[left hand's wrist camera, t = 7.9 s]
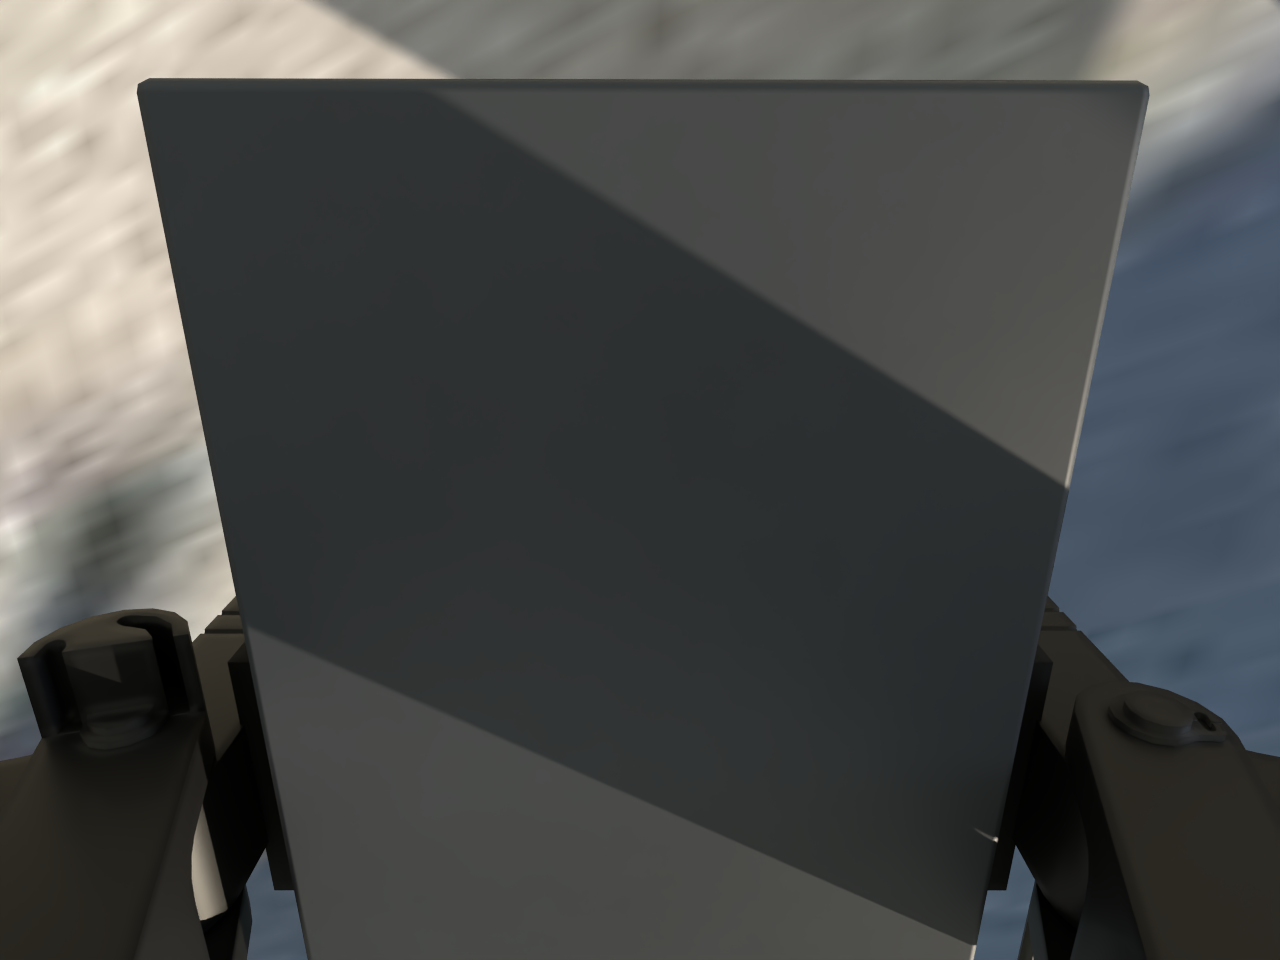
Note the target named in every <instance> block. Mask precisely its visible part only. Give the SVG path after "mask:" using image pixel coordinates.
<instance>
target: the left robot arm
mask: <svg viewBox="0 0 1280 960" xmlns="http://www.w3.org/2000/svg"><path fill="white" fill-rule="evenodd" d="M17 660H18V663H19V666H20V669H21V672H22V676H23V679H24V682H25V685H26V688H27V692H28V695H29V698H30V701H31V705H32V708H33V711H34V714H35V717H36V721H37V724H38V727H39V730H40V733H41V737H42V739H41V741H40V742H39V744H38V746H37V748H36V750H35V751H34V753H33V754H32V755H28V756H24V757H19V758H14V759H9V760H4V761H0V960H247V954H248V947H249V940H250V933H251V926H252V915H251V907H250V901H249V897H248V892H247V888H246V882H247V881H248V879H249V877H250V875H251V873H252V871H253V870H254V868H255V866H256V864H257V862H258V861H259V859H260V857H261V855H262V853H263V851H264V850H265V848H266V852H267V857H268V861H269V866H270V871H271V876H272V881H273V886H274V890H294V887H293V882H292V877H291V872H290V866H289V861H288V856H287V851H286V846H285V841H284V836H283V831H282V826H281V821H280V816H279V811H278V806H277V801H276V796H275V790H274V785H273V780H272V775H271V770H270V765H269V760H268V755H267V750H266V745H265V740H264V735H263V730H262V725H261V719H260V714H259V709H258V704H257V699H256V694H255V689H254V684H253V679H252V674H251V669H250V664H249V659H248V654H247V649H246V643H245V638H244V633H243V628H242V623H241V618H240V613H239V608H238V603H237V598H236V596H235V598H234V599H233V600H232V601H231V602H230V603H229V604H228V605H227V606H226V607H225V608H224V609H223V610H222V615H218V616H217V617H216V618H215V619H214V620H213V621H212V622H211V623H210V624H209V625H208V626H207V627H206V628H205V634H200V635H199V636H198V637H197V638H196V639H195V640H194V641H193V642H192V640H191V636H190V631H189V627H188V622H187V621H186V620H185V619H184V618H182V617H181V616H179V615H178V614H176V613H175V612H170V611H164V610H159V609H153V608H152V609H133V610H121V611H117V612H112V613H107V614H102V615H97V616H93V617H90V618H87V619H84V620H81V621H79V622H76V623H73V624H70V625H67V626H65V627H62V628H60V629H58V630H56V631H54V632H52V633H51V634H49V635H47V636H45V637H43V638H41V639H40V640H38V641H36V642H34V643H33V644H32V645H31V646H30V647H29V648H28V649H27V650H26V651H25V652H24V653H23V654H21V655H20V656H19V657H18V658H17ZM1015 845H1016V846H1017V848H1018V850H1019V851H1020V853H1021V855H1022V857H1023V859H1024V861H1025V862H1026V864H1027V866H1028V868H1029V870H1030V871H1031V873H1032V875H1033V877H1034V879H1035V883H1034V888H1033V892H1032V897H1031V901H1030V906H1029V910H1028V915H1027V919H1026V924H1025V928H1024V933H1023V937H1022V942H1021V946H1020V951H1019V955H1018V960H1280V757H1276V756H1271V755H1266V754H1261V753H1256V752H1252V751H1248V750H1245V748H1244V746H1243V744H1242V743H1241V741H1240V739H1239V737H1238V736H1237V735H1236V734H1235V733H1234V731H1233V730H1232V729H1231V728H1230V727H1229V726H1228V725H1227V724H1226V722H1225V721H1224V720H1223V719H1222V718H1220V717H1219V716H1217V715H1216V714H1214V713H1213V712H1211V711H1210V710H1208V709H1206V708H1205V707H1203V706H1202V705H1200V704H1199V703H1197V702H1195V701H1192V700H1190V699H1188V698H1185V697H1183V696H1181V695H1178V694H1176V693H1174V692H1171V691H1169V690H1165V689H1161V688H1157V687H1153V686H1149V685H1145V684H1141V683H1134V682H1129V681H1128V680H1127V679H1126V678H1125V677H1124V676H1123V675H1122V674H1121V673H1120V672H1119V670H1118V669H1117V668H1116V667H1115V666H1114V665H1113V664H1112V663H1111V662H1110V661H1109V660H1108V659H1107V658H1106V657H1105V656H1104V655H1103V654H1102V653H1101V651H1100V650H1099V649H1098V648H1097V647H1096V646H1095V645H1094V644H1093V643H1092V642H1091V641H1090V640H1089V639H1088V638H1087V637H1086V636H1085V635H1084V634H1083V633H1082V631H1077V630H1076V625H1075V624H1074V623H1073V622H1072V621H1071V620H1070V619H1069V618H1068V617H1067V616H1066V615H1065V614H1064V612H1059V607H1058V606H1057V605H1056V604H1055V603H1054V602H1053V601H1052V600H1051V599H1050V598H1049V597H1048V596H1047V601H1046V605H1045V610H1044V615H1043V620H1042V625H1041V630H1040V635H1039V640H1038V645H1037V650H1036V655H1035V659H1034V664H1033V669H1032V674H1031V679H1030V684H1029V689H1028V694H1027V699H1026V704H1025V709H1024V713H1023V718H1022V723H1021V728H1020V733H1019V738H1018V743H1017V748H1016V753H1015V758H1014V763H1013V767H1012V772H1011V777H1010V782H1009V787H1008V792H1007V797H1006V802H1005V807H1004V812H1003V817H1002V821H1001V826H1000V831H999V836H998V841H997V846H996V851H995V856H994V861H993V866H992V871H991V875H990V880H989V885H988V890H1006V888H1007V884H1008V879H1009V874H1010V869H1011V864H1012V859H1013V855H1014V850H1015Z"/></svg>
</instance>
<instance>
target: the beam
mask: <svg viewBox="0 0 1280 960" xmlns="http://www.w3.org/2000/svg"><path fill="white" fill-rule="evenodd" d="M137 96H138V101H139V106H140V111H141V116H142V121H143V126H144V131H145V137H146V142H147V147H148V152H149V157H150V162H151V167H152V172H153V177H154V182H155V187H156V192H157V197H158V202H159V208H160V213H161V218H162V223H163V228H164V233H165V238H166V243H167V248H168V253H169V258H170V263H171V268H172V273H173V278H174V284H175V289H176V294H177V299H178V304H179V309H180V314H181V319H182V324H183V329H184V334H185V339H186V344H187V349H188V355H189V360H190V365H191V370H192V375H193V380H194V385H195V390H196V395H197V400H198V405H199V410H200V415H201V420H202V425H203V431H204V436H205V441H206V446H207V451H208V456H209V461H210V466H211V471H212V476H213V481H214V486H215V491H216V496H217V502H218V507H219V512H220V517H221V522H222V527H223V532H224V537H225V542H226V547H227V552H228V557H229V562H230V567H231V572H232V578H233V583H234V588H235V593H236V598H237V603H238V608H239V613H240V618H241V623H242V628H243V633H244V638H245V643H246V649H247V654H248V659H249V664H250V669H251V674H252V679H253V684H254V689H255V694H256V699H257V704H258V709H259V714H260V719H261V725H262V730H263V735H264V740H265V745H266V750H267V755H268V760H269V765H270V770H271V775H272V780H273V785H274V790H275V796H276V801H277V806H278V811H279V816H280V821H281V826H282V831H283V836H284V841H285V846H286V851H287V856H288V861H289V866H290V872H291V877H292V882H293V887H294V892H295V897H296V902H297V907H298V912H299V917H300V922H301V927H302V932H303V937H304V943H305V948H306V953H307V958H308V960H973V959H974V954H975V949H976V944H977V939H978V934H979V929H980V925H981V920H982V915H983V910H984V905H985V900H986V895H987V890H988V885H989V880H990V875H991V871H992V866H993V861H994V856H995V851H996V846H997V841H998V836H999V831H1000V826H1001V821H1002V817H1003V812H1004V807H1005V802H1006V797H1007V792H1008V787H1009V782H1010V777H1011V772H1012V767H1013V763H1014V758H1015V753H1016V748H1017V743H1018V738H1019V733H1020V728H1021V723H1022V718H1023V713H1024V709H1025V704H1026V699H1027V694H1028V689H1029V684H1030V679H1031V674H1032V669H1033V664H1034V659H1035V655H1036V650H1037V645H1038V640H1039V635H1040V630H1041V625H1042V620H1043V615H1044V610H1045V605H1046V601H1047V596H1048V591H1049V586H1050V581H1051V576H1052V571H1053V566H1054V561H1055V556H1056V551H1057V547H1058V542H1059V537H1060V532H1061V527H1062V522H1063V517H1064V512H1065V507H1066V502H1067V497H1068V493H1069V488H1070V483H1071V478H1072V473H1073V468H1074V463H1075V458H1076V453H1077V448H1078V443H1079V439H1080V434H1081V429H1082V424H1083V419H1084V414H1085V409H1086V404H1087V399H1088V394H1089V389H1090V385H1091V380H1092V375H1093V370H1094V365H1095V360H1096V355H1097V350H1098V345H1099V340H1100V335H1101V330H1102V326H1103V321H1104V316H1105V311H1106V306H1107V301H1108V296H1109V291H1110V286H1111V281H1112V276H1113V272H1114V267H1115V262H1116V257H1117V252H1118V247H1119V242H1120V237H1121V232H1122V227H1123V222H1124V218H1125V213H1126V208H1127V203H1128V198H1129V193H1130V188H1131V183H1132V178H1133V173H1134V168H1135V164H1136V159H1137V154H1138V149H1139V144H1140V139H1141V134H1142V129H1143V124H1144V119H1145V114H1146V110H1147V105H1148V100H1149V88H1148V86H1146V85H1144V84H1143V83H1141V82H1139V81H1064V80H651V79H236V78H149V79H147V80H145V81H143V82H141V83H139V84H138V88H137Z"/></svg>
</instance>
